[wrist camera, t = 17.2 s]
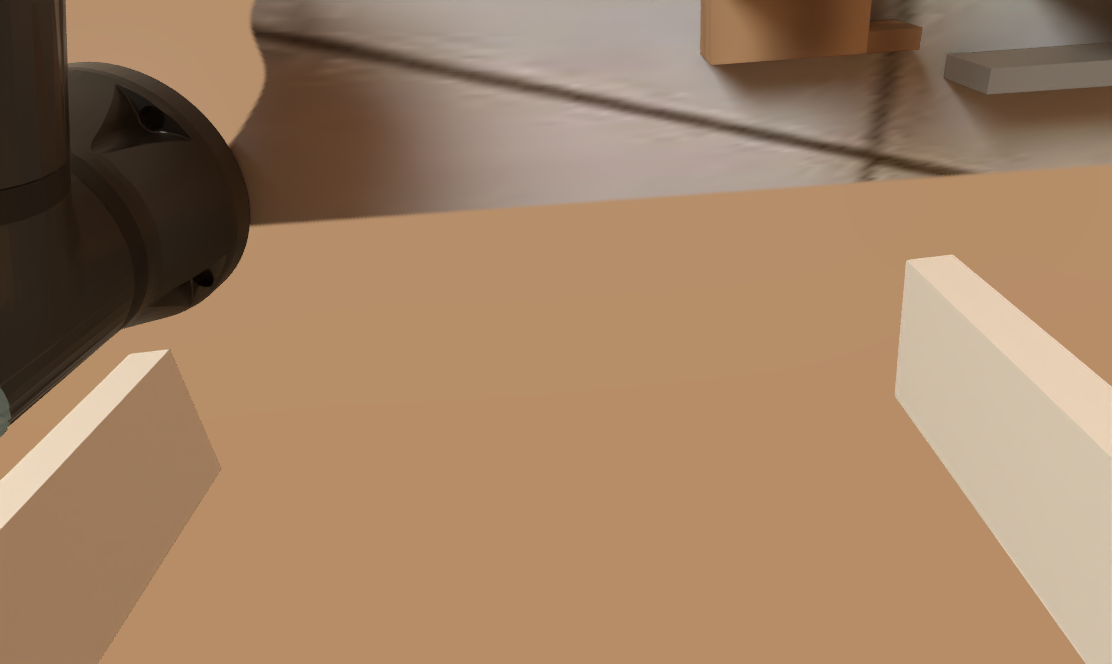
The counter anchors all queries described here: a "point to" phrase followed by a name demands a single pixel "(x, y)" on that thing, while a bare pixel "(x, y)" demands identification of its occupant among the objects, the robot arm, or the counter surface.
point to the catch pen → (1032, 68)
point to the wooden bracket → (797, 30)
